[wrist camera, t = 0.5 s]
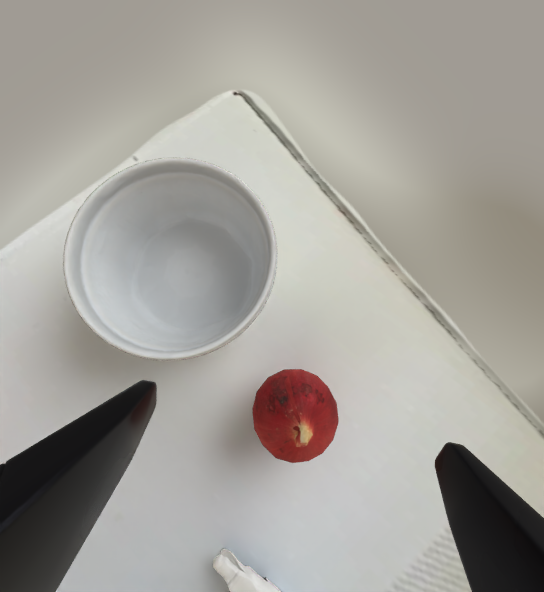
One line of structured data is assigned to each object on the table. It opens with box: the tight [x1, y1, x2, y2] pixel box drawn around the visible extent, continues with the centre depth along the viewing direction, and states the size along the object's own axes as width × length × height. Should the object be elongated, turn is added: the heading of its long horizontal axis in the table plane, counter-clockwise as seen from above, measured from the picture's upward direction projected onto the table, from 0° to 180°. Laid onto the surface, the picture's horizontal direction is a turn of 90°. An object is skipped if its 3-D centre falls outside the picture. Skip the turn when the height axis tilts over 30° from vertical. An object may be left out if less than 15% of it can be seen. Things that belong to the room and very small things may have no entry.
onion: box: [253, 369, 338, 463], centre depth 19 cm, size 6×6×8 cm
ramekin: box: [63, 158, 277, 361], centre depth 21 cm, size 13×13×7 cm
